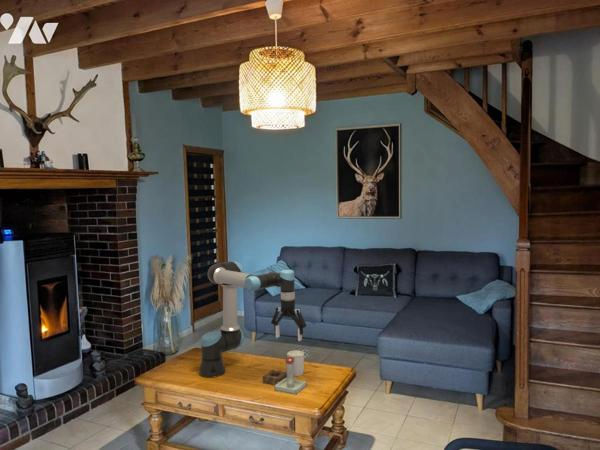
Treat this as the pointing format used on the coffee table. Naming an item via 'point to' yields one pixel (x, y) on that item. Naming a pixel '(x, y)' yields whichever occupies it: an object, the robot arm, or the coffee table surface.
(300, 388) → the tray
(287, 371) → the pin
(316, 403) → the coffee table surface
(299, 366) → the candle holder
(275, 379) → the socket block
